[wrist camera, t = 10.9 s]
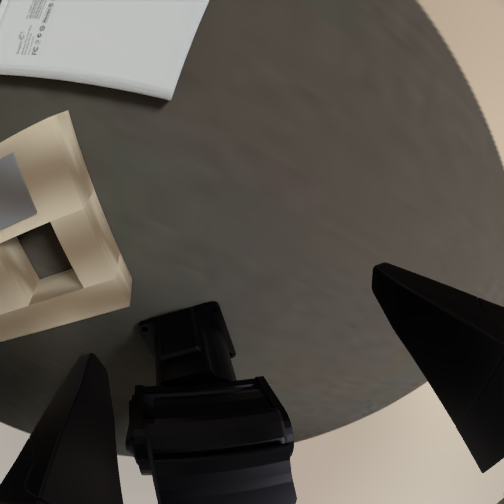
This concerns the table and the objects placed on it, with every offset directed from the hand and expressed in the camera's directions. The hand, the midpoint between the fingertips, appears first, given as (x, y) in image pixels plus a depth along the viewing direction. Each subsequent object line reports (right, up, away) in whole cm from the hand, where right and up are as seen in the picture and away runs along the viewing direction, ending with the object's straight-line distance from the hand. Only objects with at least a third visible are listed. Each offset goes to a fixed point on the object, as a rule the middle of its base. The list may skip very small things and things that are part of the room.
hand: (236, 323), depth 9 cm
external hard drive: (-9, +15, +4) cm, 18 cm away
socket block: (-17, +3, +8) cm, 19 cm away
